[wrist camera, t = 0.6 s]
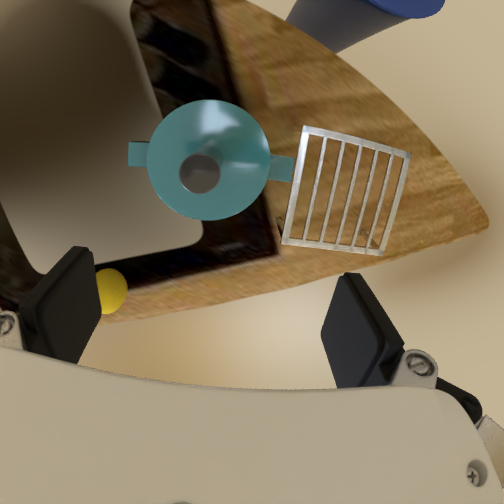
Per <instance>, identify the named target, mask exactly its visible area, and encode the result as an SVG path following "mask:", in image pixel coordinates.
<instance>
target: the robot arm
mask: <svg viewBox="0 0 504 504" xmlns="http://www.w3.org/2000/svg"><path fill="white" fill-rule="evenodd" d="M18 308H19V311H20V313H19V314H18V315H16V314H15V313H14V312H11V311H1V312H0V504H504V492H503V488H504V429H503V428H501V427H500V426H499V425H498V424H497V423H496V422H495V421H493V420H492V419H491V418H490V417H489V416H487V415H485V416H484V417H483V416H482V407H481V404H480V403H479V401H478V399H477V398H476V397H475V396H473V395H472V394H470V393H468V392H466V391H464V390H462V389H460V388H458V387H456V386H454V385H452V384H451V383H448V382H447V381H445V380H443V379H441V378H439V377H437V375H438V366H437V363H436V362H435V360H434V359H433V358H432V357H431V356H430V355H429V354H427V353H425V352H424V351H421V350H417V349H410V350H407V351H405V350H404V348H403V345H404V341H403V340H402V338H401V336H400V335H399V333H398V331H397V330H396V328H395V327H394V325H393V324H392V322H391V320H390V319H389V317H388V315H387V314H386V312H385V311H384V309H383V307H382V306H381V305H380V303H379V301H378V300H377V298H376V297H375V295H374V294H373V292H372V291H371V289H370V288H369V286H368V285H367V283H366V282H365V280H364V279H363V277H362V276H361V274H360V273H349V272H346V273H344V275H343V276H340V277H339V279H338V282H337V285H336V288H335V291H334V294H333V297H332V300H331V303H330V306H329V309H328V312H327V315H326V318H325V321H324V324H323V326H322V330H321V339H322V342H323V345H324V348H325V351H326V354H327V358H328V361H329V363H330V366H331V370H332V373H333V376H334V379H335V382H336V386H337V389H311V390H270V389H243V388H226V387H213V386H201V385H192V384H183V383H175V382H167V381H160V380H153V379H147V378H141V377H135V376H129V375H123V374H118V373H113V372H108V371H103V370H98V369H94V368H90V367H86V366H81V365H77V363H78V361H79V359H80V357H81V355H82V353H83V350H84V349H85V347H86V345H87V343H88V341H89V339H90V337H91V335H92V333H93V331H94V329H95V327H96V326H97V324H98V322H99V320H100V318H101V315H102V307H101V302H100V297H99V291H98V285H97V279H96V273H95V266H94V258H93V254H92V252H90V251H89V249H88V248H87V247H80V246H73V247H72V248H71V249H70V250H69V251H68V252H67V253H66V254H65V255H64V256H63V257H62V258H61V259H60V260H59V261H58V262H57V263H56V265H55V266H54V267H53V268H52V269H51V270H50V271H49V272H48V273H47V274H46V275H45V276H44V277H43V279H42V280H41V281H40V282H39V283H38V284H37V285H36V286H35V287H34V289H33V290H32V291H31V292H30V293H29V294H28V296H27V297H26V298H25V299H24V300H23V301H22V303H21V304H20V305H19V306H18Z"/></svg>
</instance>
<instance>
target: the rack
mask: <svg viewBox="0 0 504 504" xmlns="http://www.w3.org/2000/svg"><path fill="white" fill-rule="evenodd" d="M292 128H293V130H294V131H297V132H300V133H301V135H300V141H299V146H298V152H297V158H296V163H295V169H294V174H293V179H292V185H291V190H290V195H289V201H288V206H287V211H286V216H285V221H284V224H283V222H282V219H281V218H277V219H276V224H277V227H278V230H279V233H280V236H281V241H280V243H281V244H285V245H294V246H303V247H311V248H320V249H328V250H337V251H345V252H353V253H362V254H370V255H378V256H383V253H384V250H385V247H386V244H387V241H388V238H389V235H390V232H391V228H392V225H393V222H394V219H395V215H396V212H397V209H398V205H399V202H400V198H401V194H402V191H403V187H404V183H405V179H406V175H407V171H408V167H409V163H410V158H411V153H409V152H406V151H403V150H400V149H397V148H393V147H390V146H387V145H384V144H380V143H377V142H373V141H370V140H366V139H362V138H359V137H355V136H351V135H347V134H343V133H339V132H334V131H330V130H326V129H321V128H316V127H312V126H307V125H297V124H295V125H293V127H292ZM309 134H312V135H317V136H322V137H323V138H322V144H321V149H320V154H319V159H318V165H317V170H316V175H315V180H314V184H313V189H312V194H311V199H310V203H309V208H308V213H307V217H306V222H305V226H304V231H303V235H302V239H301V238H293V237H289V236H290V231H291V227H292V222H293V217H294V212H295V207H296V202H297V197H298V192H299V187H300V182H301V177H302V171H303V166H304V161H305V155H306V150H307V145H308V139H309ZM327 138H331V139H335V140H340V141H341V143H340V148H339V153H338V158H337V163H336V168H335V172H334V177H333V182H332V186H331V191H330V195H329V200H328V204H327V208H326V212H325V217H324V221H323V225H322V229H321V233H320V237H319V241H317V240H309V239H306V237H307V232H308V228H309V224H310V219H311V215H312V210H313V206H314V201H315V197H316V192H317V187H318V183H319V178H320V173H321V168H322V163H323V158H324V153H325V148H326V142H327ZM345 142H348V143H352V144H356V145H358V148H357V153H356V158H355V163H354V167H353V172H352V176H351V181H350V185H349V189H348V193H347V197H346V202H345V206H344V210H343V214H342V217H341V221H340V225H339V229H338V233H337V236H336V240H335V243H333V242H325V241H323V239H324V235H325V231H326V227H327V223H328V219H329V215H330V210H331V206H332V202H333V198H334V193H335V189H336V185H337V180H338V176H339V171H340V166H341V162H342V157H343V152H344V147H345ZM363 146H364V147H368V148H371V149H374V154H373V158H372V163H371V167H370V172H369V176H368V180H367V184H366V188H365V192H364V196H363V200H362V204H361V208H360V212H359V215H358V219H357V223H356V226H355V230H354V233H353V237H352V240H351V244H350V245H348V244H341V243H339V241H340V238H341V234H342V231H343V227H344V223H345V219H346V216H347V212H348V208H349V204H350V200H351V196H352V192H353V187H354V183H355V179H356V175H357V170H358V166H359V161H360V156H361V152H362V147H363ZM379 151H382V152H386V153H389V159H388V163H387V168H386V172H385V176H384V180H383V184H382V188H381V192H380V196H379V200H378V203H377V207H376V211H375V214H374V218H373V221H372V225H371V228H370V231H369V235H368V234H367V233H366V231H365V230H362V231H361V232H360V234H361V236H362V237H363V238H364V239H365V240H366V244H365V247H364V246H356V245H355V242H356V238H357V235H358V231H359V228H360V224H361V221H362V217H363V214H364V210H365V206H366V202H367V198H368V195H369V191H370V187H371V183H372V178H373V174H374V170H375V166H376V161H377V157H378V152H379ZM394 155H395V156H398V157H401V158H403V161H402V165H401V169H400V174H399V178H398V182H397V185H396V189H395V193H394V197H393V200H392V204H391V208H390V211H389V215H388V218H387V221H386V225H385V228H384V231H383V234H382V237H381V241H380V244H379V245H378V244H377V243H376V242H375V241H374V240H373V239H372V236H373V233H374V229H375V226H376V223H377V219H378V216H379V212H380V209H381V205H382V201H383V198H384V194H385V190H386V186H387V182H388V178H389V174H390V170H391V166H392V161H393V157H394ZM369 245H370V246H371V247H372V248H371V247H369Z"/></svg>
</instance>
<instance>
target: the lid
mask: <svg viewBox="0 0 504 504" xmlns="http://www.w3.org/2000/svg"><path fill="white" fill-rule="evenodd" d="M270 164H271V155H270V148H269V144H268V141H267V138H266V135H265V133H264V131H263V130H262V128H261V127H260V125H259V124H258V122H257V121H256V120H255V119H254V118H253V117H252V116H251V115H250V114H249V113H247V112H246V111H244V110H243V109H241V108H240V107H238V106H236V105H233V104H231V103H228V102H224V101H219V100H199V101H194V102H190V103H188V104H185V105H183V106H181V107H179V108H177V109H175V110H174V111H172V112H171V113H170V114H168V115H167V116H166V117H165V118H164V119H163V120H162V121H161V123H160V124H159V125H158V127H157V128H156V130H155V132H154V133H153V135H152V138H151V140H150V143H149V147H148V152H147V169H148V175H149V178H150V181H151V183H152V186H153V188H154V190H155V191H156V193H157V194H158V196H159V197H160V198H161V200H162V201H163V202H164V203H165V204H166V205H168V206H169V207H170V208H172V209H173V210H175V211H176V212H178V213H180V214H182V215H184V216H186V217H190V218H193V219H199V220H218V219H223V218H227V217H230V216H233V215H235V214H237V213H239V212H241V211H242V210H244V209H245V208H247V207H248V206H249V205H250V204H251V203H252V202H253V201H254V200H255V199H256V198H257V197H258V195H259V194H260V193H261V191H262V189H263V188H264V186H265V184H266V181H267V179H268V175H269V171H270Z"/></svg>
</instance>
